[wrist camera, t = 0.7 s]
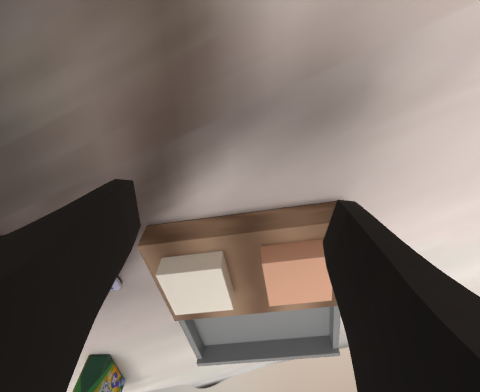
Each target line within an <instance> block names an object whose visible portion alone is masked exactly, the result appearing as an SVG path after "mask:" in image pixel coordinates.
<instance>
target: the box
mask: <svg viewBox="0 0 480 392" xmlns="http://www.w3.org/2000/svg"><path fill="white" fill-rule="evenodd" d="M179 323H180V325H181V327H182V329H183V331H184V333H185V335H186V337H187V339H188V341H189V343H190V345H191V347H192V349H193V351H194V353H195V355H196V357H197V365H198V366H209V365H222V364H236V363H249V362H263V361H276V360H290V359H302V358H316V357H330V356H339V355H340V352H339V349H338V346H339V327H340V311H339V308H338V306H333V307H322V308H311V309H300V310H289V311H279V312H268V313H257V314H246V315H235V316H224V317H213V318H202V319H192V320H181V321H179Z"/></svg>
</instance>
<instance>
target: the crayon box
mask: <svg viewBox="0 0 480 392" xmlns="http://www.w3.org/2000/svg"><path fill="white" fill-rule="evenodd" d="M124 383H125V380H124V379H123V377H122V376H121V374H120V372H119V371H118V369H117V367H116V365H115V364H114V362H113V360H112V359H111V357H110V355H89V356H88V358H87V360H86V363H85V365H84V367H83V369H82V372H81V374H80V376H79V378H78V380H77V383H76V385H75V387H74V389H73V392H122V389H123V386H124Z"/></svg>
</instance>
